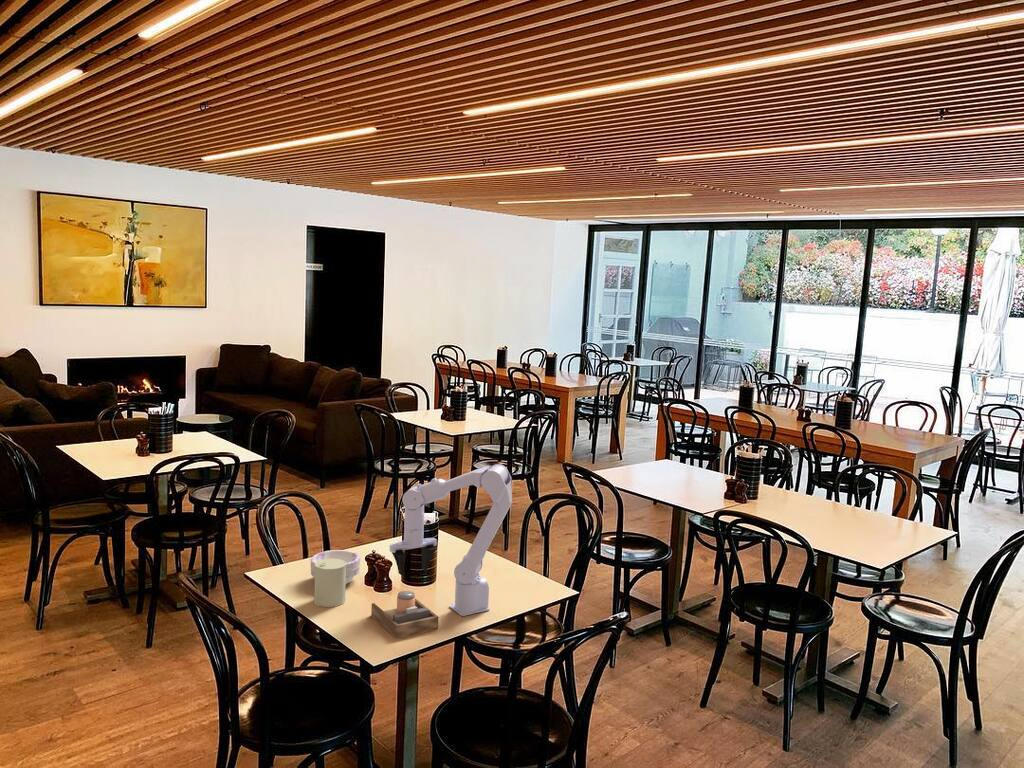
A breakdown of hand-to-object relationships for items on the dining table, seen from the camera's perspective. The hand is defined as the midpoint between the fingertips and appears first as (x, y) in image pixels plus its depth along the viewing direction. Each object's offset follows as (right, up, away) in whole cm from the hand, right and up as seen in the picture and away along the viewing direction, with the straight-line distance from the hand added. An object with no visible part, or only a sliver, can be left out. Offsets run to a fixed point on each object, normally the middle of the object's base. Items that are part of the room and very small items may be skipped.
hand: (412, 571), depth 239 cm
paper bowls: (-26, -7, +15) cm, 31 cm away
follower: (+2, -11, -16) cm, 20 cm away
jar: (0, -11, -13) cm, 17 cm away
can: (-25, -9, 0) cm, 26 cm away
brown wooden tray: (-1, -11, -12) cm, 17 cm away
